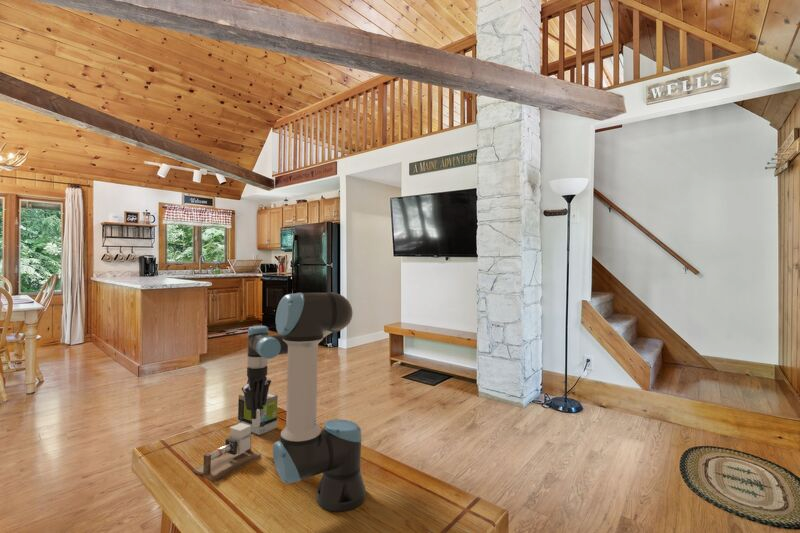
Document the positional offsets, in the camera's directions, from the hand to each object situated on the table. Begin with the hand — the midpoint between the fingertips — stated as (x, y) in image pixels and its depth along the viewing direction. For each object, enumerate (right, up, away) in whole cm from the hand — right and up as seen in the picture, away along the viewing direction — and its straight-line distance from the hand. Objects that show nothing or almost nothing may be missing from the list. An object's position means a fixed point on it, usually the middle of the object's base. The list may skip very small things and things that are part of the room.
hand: (255, 425), depth 149 cm
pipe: (-6, -5, -11) cm, 13 cm away
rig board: (-6, -9, -11) cm, 16 cm away
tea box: (-7, -9, +20) cm, 23 cm away
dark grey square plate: (-5, -6, -10) cm, 13 cm away
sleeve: (-3, -6, -7) cm, 10 cm away
